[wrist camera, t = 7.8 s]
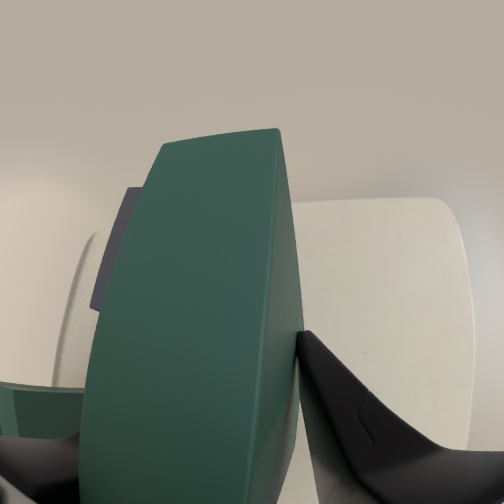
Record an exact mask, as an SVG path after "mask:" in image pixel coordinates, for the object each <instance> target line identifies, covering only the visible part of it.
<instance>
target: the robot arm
mask: <svg viewBox="0 0 504 504" xmlns="http://www.w3.org/2000/svg"><path fill="white" fill-rule="evenodd" d="M297 365H298V382H299V396H300V403H301V408H302V413H303V418H304V423H305V428H306V434H307V439H308V444H309V450H310V455H311V460H312V466H313V471H314V477H315V483H316V488H317V494H318V500H319V504H504V451H499V452H498V451H495V452H494V451H493V452H492V451H464V450H452V449H448V448H445V447H442V446H440V445H438V444H436V443H434V442H433V441H431V440H430V439H428V438H427V437H425V436H424V435H423V434H421V433H420V432H418V431H417V430H416V429H414V428H413V427H412V426H410V425H409V424H408V423H406V422H405V421H404V420H402V419H401V418H400V417H398V416H397V415H396V414H395V413H393V412H392V411H391V410H390V409H388V408H387V407H386V406H385V405H384V404H383V403H382V402H381V401H380V400H379V399H378V398H377V397H376V396H375V395H374V394H373V393H372V392H371V391H369V390H368V388H367V387H366V386H365V385H364V384H363V383H362V382H361V381H360V380H359V379H358V378H357V377H356V376H355V375H354V374H353V373H352V372H351V371H350V370H349V369H348V368H347V367H346V366H345V365H344V364H343V363H342V362H341V361H340V360H339V359H338V358H337V357H336V356H335V355H334V354H333V353H332V352H331V351H330V350H329V349H328V348H327V347H326V346H325V345H324V344H323V343H322V342H321V341H320V340H319V339H318V338H317V337H316V336H315V335H314V334H313V333H312V332H311V331H310V330H305V331H298V332H297ZM79 441H80V430H79V431H77V432H75V433H74V434H72V435H70V436H67V437H64V438H60V439H34V438H22V437H12V436H4V435H0V504H80V501H79Z"/></svg>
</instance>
